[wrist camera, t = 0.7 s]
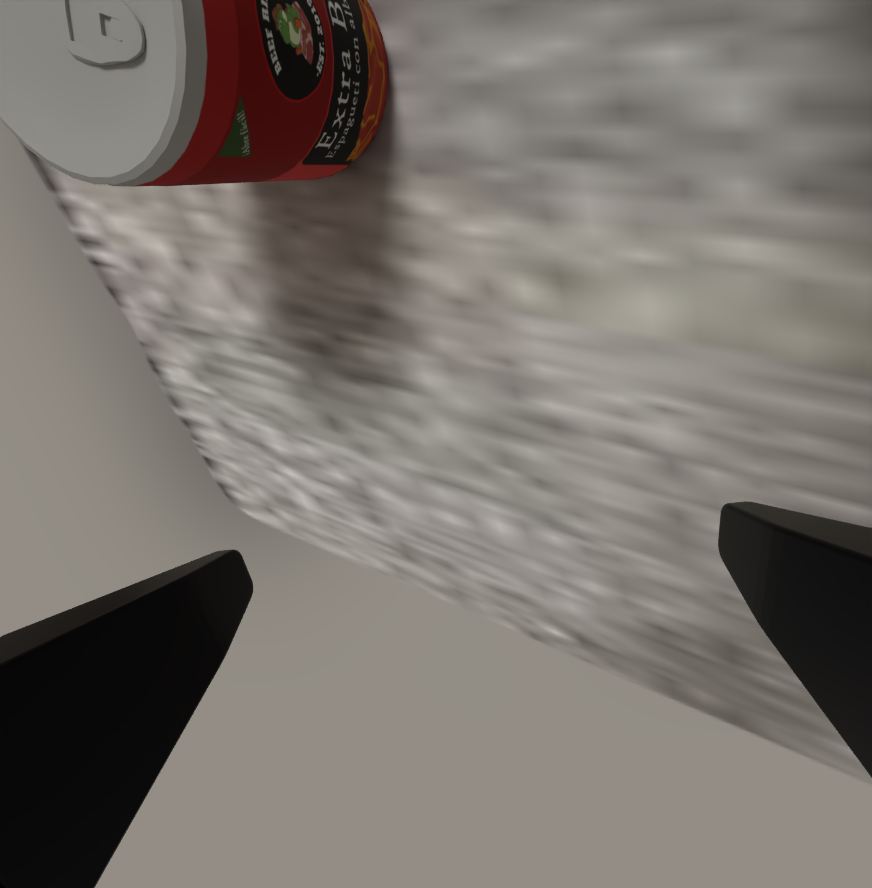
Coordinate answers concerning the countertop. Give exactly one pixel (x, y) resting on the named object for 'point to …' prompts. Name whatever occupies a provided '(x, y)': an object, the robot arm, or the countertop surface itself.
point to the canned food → (192, 87)
